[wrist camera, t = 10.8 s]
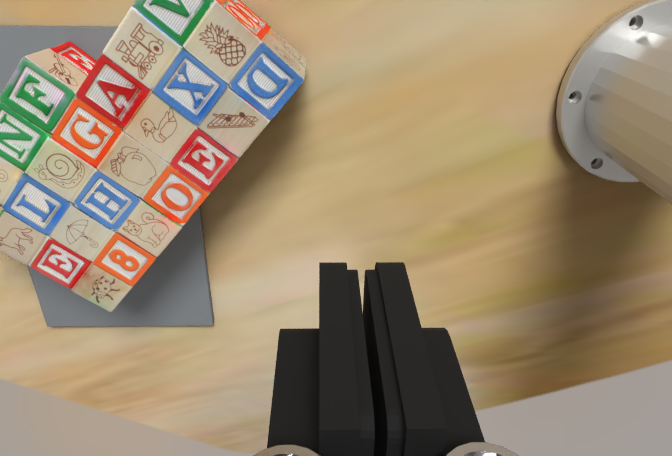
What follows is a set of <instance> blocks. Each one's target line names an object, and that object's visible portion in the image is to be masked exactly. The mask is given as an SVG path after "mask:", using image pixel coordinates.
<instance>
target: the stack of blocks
mask: <svg viewBox="0 0 672 456" xmlns="http://www.w3.org/2000/svg"><path fill="white" fill-rule="evenodd" d="M306 66H307V60H306V59H305V58H304V57H303V56H302V55H301V54H300V53H299V52H298V51H297V50H296V49H295V48H294V47H292V46H291V45H290V44H289V43H288V42H286V41H285V40H284V39H283V38H282V37H281V36H279V35H278V34H277V33H276V32H275V31H273V30H272V29H271V28H270V26H269V25H268V24H267V23H266V22H264V21H263V20H262V19H261V18H260V17H259V16H258V15H256V14H255V13H254V12H253V11H252V10H251V9H249V8H248V7H247V6H246V5H245V4H244V3H243V2H241V1H240V0H135V2H134V5H133V6H132V7H131V8H130V10H129V11H128V13H127V14H126V16H125V17H124V19H123V20H122V22H121V23H120V25H119V26H118V28H117V29H116V31H115V32H114V34H113V36H112V37H111V39H110V40H109V42H108V43H107V45H106V47H105V48H104V50H103V53H102V55H101V56H100V57H99V59H98V60H97V61H96V60H95V59H94V58H92V57H91V56H90V55H88V54H87V53H86V52H84V51H83V50H82V49H80V48H79V47H78V46H76V45H75V44H74V43H72V42H70V41H68V42H66V43H63V44H61V45H58V46H56V47H53V48H50V49H45V50H42V51H39V52H36V53H33V54H30V55H27V56H25V57H23V58H22V59H21V61H20V63H19V65H18V66H17V68H16V70H15V72H14V73H13V75H12V77H11V78H10V80H9V82H8V84H7V85H6V87H5V89H4V90H3V92H2V94H1V96H0V252H3V253H4V254H6V255H8V256H10V257H11V258H13V259H15V260H17V261H19V262H20V263H22V264H24V265H29V266H30V267H31V268H33V269H35V270H36V271H38V272H40V273H42V274H43V275H45V276H47V277H49V278H51V279H52V280H54V281H56V282H58V283H60V284H62V285H63V286H65V287H67V288H70V289H72V291H73V292H74V293H76V294H78V295H80V296H81V297H83V298H85V299H86V300H88V301H90V302H92V303H94V304H96V305H98V306H99V307H101V308H103V309H105V310H107V311H109V312H112V311H113V310H114V309H115V308H116V306H117V305H118V304H119V303H120V302H121V300H122V299H123V298H124V297H125V296H126V295H127V293H128V292H129V291H130V290H131V289H132V287H133V286H134V285H135V284H136V283H137V282H138V280H139V279H140V278H141V277H142V276H143V274H144V273H145V272H146V271H147V270H148V268H149V267H150V266H151V265H152V264H153V262H154V261H155V260H156V258H157V257H158V256H159V255H160V254H161V253H162V251H163V250H164V249H165V248H166V247H167V245H168V244H169V243H170V242H171V241H172V239H173V238H174V237H175V236H176V235H177V234H178V232H179V231H180V230H181V229H182V227H183V226H184V225H185V224H186V222H187V221H188V220H189V218H190V217H191V216H192V215H193V213H194V212H195V211H196V210H197V209H198V208H199V206H200V205H201V204H202V203H203V201H204V200H205V199H206V198H207V197H208V196H209V194H210V193H211V192H212V191H213V190H214V189H215V187H216V186H217V185H218V184H219V183H220V181H221V180H222V179H223V178H224V177H225V176H226V174H227V173H228V172H229V171H230V169H231V168H232V167H233V166H234V165H235V163H236V162H237V161H238V159H239V158H240V157H241V156H242V155H243V154H244V153H245V151H246V150H247V149H248V148H249V146H250V145H251V144H252V143H253V142H254V140H255V139H256V138H257V137H258V136H259V134H260V133H261V132H262V131H263V130H264V128H265V127H266V126H267V125H268V124H269V122H270V121H271V120H272V119H273V118H274V117H275V115H276V114H277V113H278V112H279V111H280V110H281V109H282V107H283V106H284V105H285V104H286V102H287V101H288V100H289V99H290V98H291V96H292V95H293V94H294V93H295V92H296V90H297V89H298V88H299V87H300V86H301V84H302V83H303V81H304V79H305V72H306V70H305V69H306Z"/></svg>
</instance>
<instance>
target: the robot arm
mask: <svg viewBox="0 0 672 456" xmlns="http://www.w3.org/2000/svg"><path fill="white" fill-rule="evenodd" d="M631 19H632V22H631V23H630V24H629V22H630V20H631ZM571 93H573V95H572V96H571V97H569V96H570V94H571ZM556 119H557V128H558V132H559V135H560V138H561V141H562V144H563V146H564V147H565V149H566V150H567V152H568V153H569V155H570V156H571V157H572V158H573V159H574V160H575V161H576V162H577V163H578V164H579V165H580V166H581V167H583V168H584V169H585V170H587V171H588V172H589V173H591V174H593V175H596V176H598V177H600V178H603V179H605V180H610V181H616V182H640V181H641V182H642V183H643V184H645V185H646V186H648V187H649V188H650V189H652V190H653V191H654V192H656V193H657V194H658V195H660V196H661V197H662V198H664V199H665V200H666V201H668V202H669V203H671V204H672V0H647V1H645V2H642V3H640V4H637V5H634V6H632V7H630V8H628V9H626V10H624V11H623V12H621V13H619V14H618V15H616V16H614V17H612V18H611V19H610V20H609V21H607V22H606V23H605V24H604V25H603V26H601V27H600V28H599V29H598V30H596V31H595V32H594V33H593V35H592V36H591V37H590V38H589V39H588V40H587V41H586V42H585V43H584V44H583V45H582V47H581V48H580V50H579V51H578V53H577V54H576V56H575V57H574V59H573V60H572V62H571V63H570V65H569V67H568V69H567V72H566V74H565V76H564V78H563V80H562V83H561V87H560V91H559V94H558V98H557V109H556ZM253 456H518V455H517V454H516V453H514V452H511V451H510V450H508V449H506V448H504V447H502V446H498V445H494V444H490V443H486V442H485V441H484V438H483V435H482V432H481V429H480V426H479V423H478V420H477V417H476V414H475V411H474V408H473V405H472V402H471V399H470V395H469V392H468V389H467V386H466V383H465V380H464V377H463V374H462V371H461V368H460V365H459V362H458V359H457V356H456V353H455V350H454V347H453V344H452V341H451V338H450V336H449V333H448V331H447V330H446V329H445V328H421V324H420V321H419V317H418V313H417V309H416V306H415V302H414V298H413V294H412V291H411V287H410V283H409V279H408V275H407V272H406V268H405V265H404V263H403V262H401V263H376V264H375V270H365V281H364V301H363V314H362V305H361V297H360V288H359V279H358V271H357V270H347V263H320V285H319V329H280V332H279V340H278V350H277V359H276V369H275V378H274V388H273V397H272V407H271V416H270V425H269V435H268V444H267V449H263V450H262V451H260V452H258V453H257V454H255V455H253Z"/></svg>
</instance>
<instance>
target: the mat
mask: <svg viewBox="0 0 672 456" xmlns="http://www.w3.org/2000/svg"><path fill="white" fill-rule="evenodd" d="M117 28H118V27H96V26H12V25H0V96H1V94H2V92H3V90H4V89H5V87H6V85H7V84H8V82H9V80H10V78H11V77H12V75H13V73H14V72H15V70H16V68H17V66H18V65H19V63H20V61H21V59H22V58H23V57H25V56H27V55H30V54H33V53H36V52H39V51H42V50H45V49H50V48H53V47H56V46H58V45H61V44H63V43H66V42H68V41H70V42H72V43H74V44H75V45H76V46H78V47H79V48H80V49H82V50H83V51H84V52H86V53H87V54H88V55H90V56H91V57H92V58H94V59H95V60H96V61H97V60H98V59H99V57H100V56H101V55H102V53H103V50H104V48H105V47H106V45H107V43H108V42H109V40H110V39H111V37H112V36H113V34H114V32H115V31H116V29H117ZM27 266H28V269H29V272H30V275H31V278H32V281H33V284H34V287H35V290H36V293H37V296H38V299H39V302H40V305H41V309H42V312H43V315H44V318H45V321H46V324H47V327H58V326H213V323H214V316H213V308H212V300H211V292H210V284H209V277H208V269H207V261H206V253H205V245H204V237H203V229H202V222H201V214H200V206H199V208H198V209H197V210H196V211H195V212H194V213H193V215H192V216H191V217H190V218H189V220H188V221H187V222H186V224H185V225H184V226H183V227H182V229H181V230H180V231H179V232H178V234H177V235H176V236H175V237H174V238H173V239H172V241H171V242H170V243H169V244H168V245H167V247H166V248H165V249H164V250H163V251H162V253H161V254H160V255H159V256H158V257H157V258H156V260H155V261H154V262H153V264H152V265H151V266H150V267H149V268H148V270H147V271H146V272H145V273H144V274H143V276H142V277H141V278H140V279H139V280H138V282H137V283H136V284H135V285H134V286H133V287H132V289H131V290H130V291H129V292H128V293H127V295H126V296H125V297H124V298H123V299H122V300H121V302H120V303H119V304H118V305H117V306H116V308H115V309H114V310H113V311H112V312H109V311H107V310H105V309H103V308H101V307H99V306H98V305H96V304H94V303H92V302H90V301H88V300H86V299H85V298H83V297H81V296H80V295H78V294H76V293H74V292H73V291H72V289H70V288H67V287H65V286H63V285H62V284H60V283H58V282H56V281H54V280H52V279H51V278H49V277H47V276H45V275H43V274H42V273H40V272H38V271H36V270H35V269H33V268H31V267H30V266H29V265H27Z"/></svg>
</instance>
